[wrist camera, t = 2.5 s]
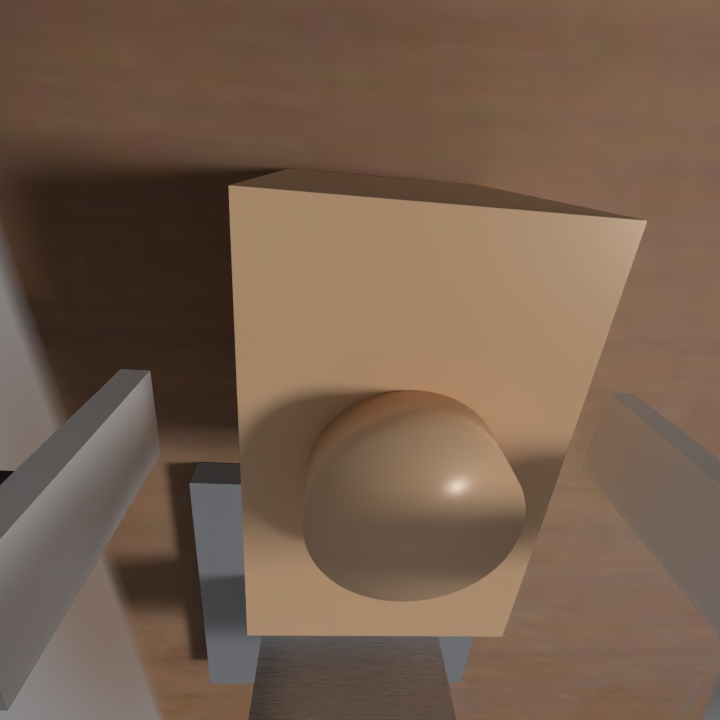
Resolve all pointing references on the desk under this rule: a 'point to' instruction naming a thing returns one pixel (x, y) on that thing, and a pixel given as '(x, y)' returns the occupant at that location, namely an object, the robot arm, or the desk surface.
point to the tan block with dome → (407, 392)
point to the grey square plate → (307, 638)
